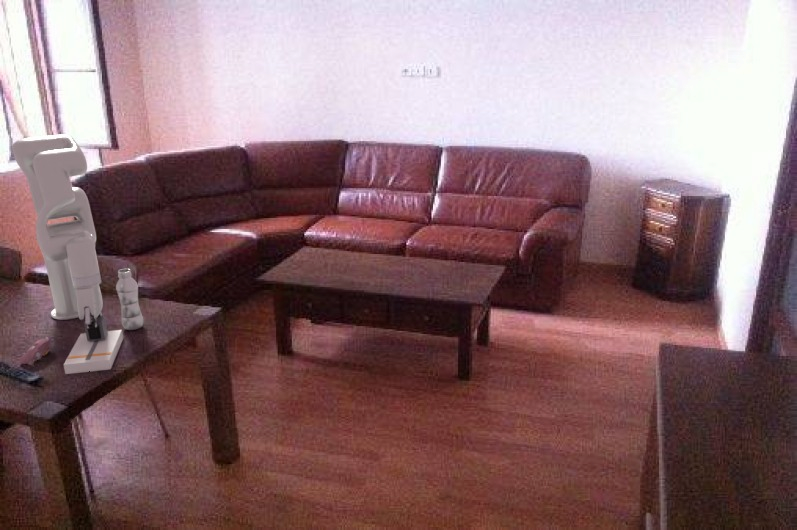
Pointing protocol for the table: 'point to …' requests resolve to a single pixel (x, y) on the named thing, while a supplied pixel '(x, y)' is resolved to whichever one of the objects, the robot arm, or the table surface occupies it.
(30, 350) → the pink toy car
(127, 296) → the plastic bottle
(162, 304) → the table surface
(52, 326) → the table surface
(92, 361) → the fader console
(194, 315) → the table surface
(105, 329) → the fader tab
